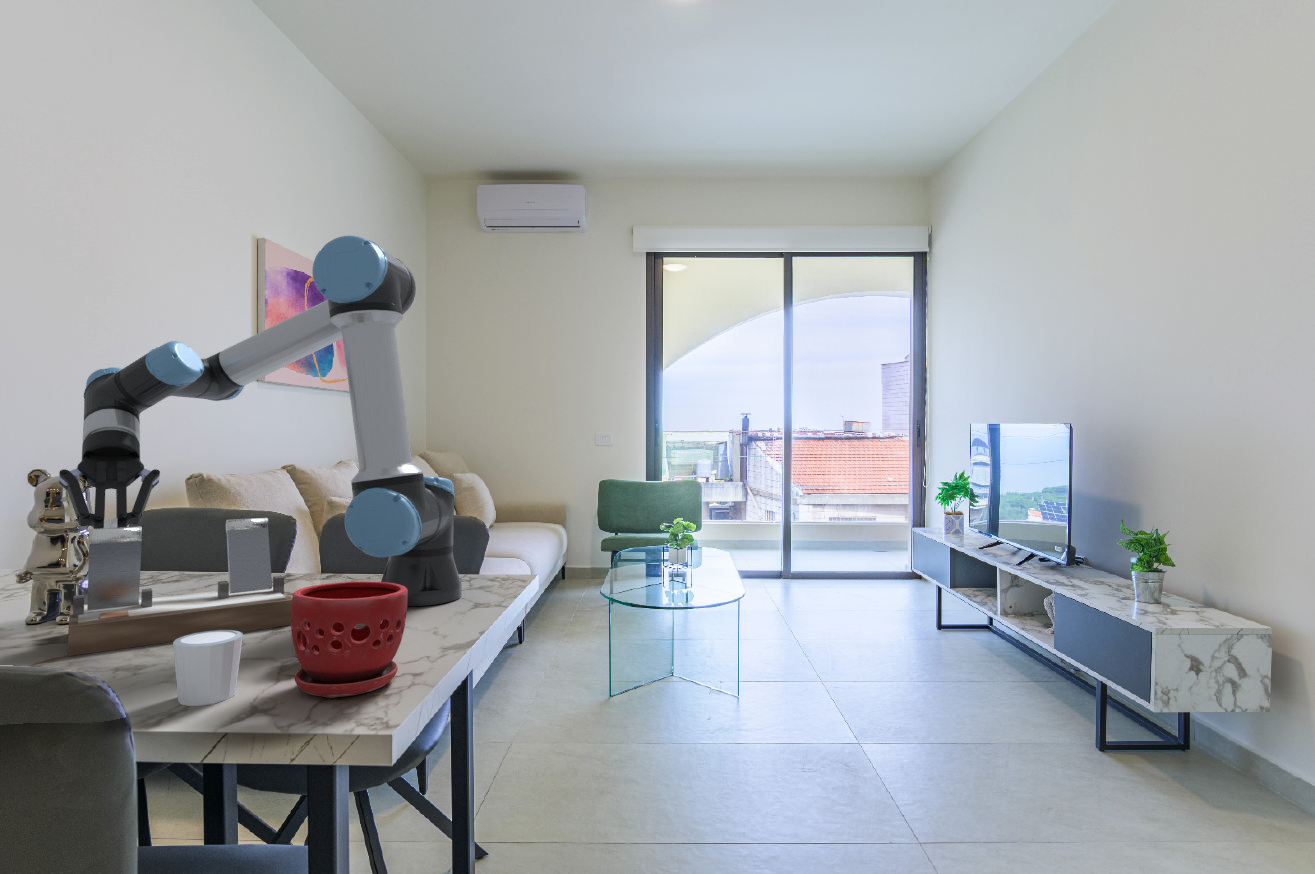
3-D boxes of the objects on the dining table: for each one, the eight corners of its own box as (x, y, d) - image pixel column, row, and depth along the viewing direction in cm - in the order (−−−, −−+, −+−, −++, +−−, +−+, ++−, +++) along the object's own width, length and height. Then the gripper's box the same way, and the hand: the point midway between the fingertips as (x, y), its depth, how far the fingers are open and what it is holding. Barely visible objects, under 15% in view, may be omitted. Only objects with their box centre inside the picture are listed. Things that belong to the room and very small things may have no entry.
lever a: (229, 594, 114) (225, 522, 118) (270, 589, 118) (265, 520, 122) (231, 590, 112) (227, 517, 117) (272, 586, 116) (267, 515, 120)
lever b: (87, 604, 102) (89, 526, 99) (138, 599, 106) (141, 523, 103) (87, 612, 101) (89, 532, 98) (138, 606, 104) (142, 529, 102)
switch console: (69, 633, 106) (70, 589, 106) (275, 607, 123) (276, 569, 123) (67, 656, 95) (68, 607, 95) (294, 624, 113) (294, 583, 113)
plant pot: (399, 699, 81) (401, 597, 81) (275, 708, 78) (277, 601, 78) (410, 664, 94) (412, 575, 94) (304, 670, 91) (306, 578, 91)
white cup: (171, 693, 82) (172, 634, 82) (239, 682, 86) (240, 625, 86) (171, 712, 76) (173, 648, 76) (244, 700, 80) (245, 639, 80)
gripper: (158, 458, 122) (162, 569, 109) (59, 458, 113) (51, 578, 100) (161, 428, 118) (166, 540, 105) (59, 425, 109) (50, 546, 96)
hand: (109, 558), depth 103 cm, fingers closed
